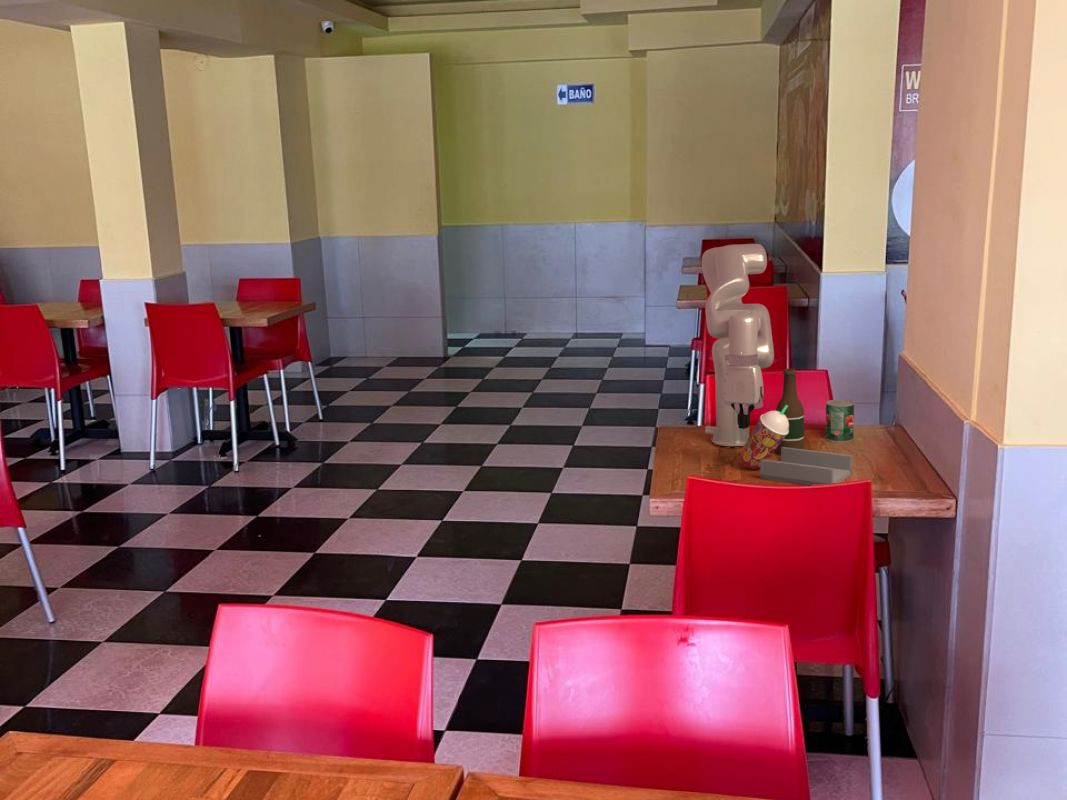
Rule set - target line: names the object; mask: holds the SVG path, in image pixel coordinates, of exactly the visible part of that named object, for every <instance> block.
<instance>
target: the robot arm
mask: <svg viewBox="0 0 1067 800" xmlns="http://www.w3.org/2000/svg"><path fill="white" fill-rule="evenodd" d="M767 265H768V256H767V252H766V249H765V248H764V246H762V244H760V243H745V244H744V243H742V244H728V245H724V246H719V247H713V248H709V249H707V250H705V251H704V253H702V256H701V268H702V269H701V270H702V274H703V278H704V281H705V284H706V286H707V288H708V290H709V292H710V295H709V296H708V298H707V301H706V303H705V319H706V327H707V332H708V335H710V336H711V337H712V338H715V339H717V340H715V341H713V344H712V348H711V354H712V355H711V356H712V360H713V368H714V375H715V376H714V378H715V379H714V381H715V417H716V418H715V419H716V420H715V421H716V422H715V423H716V424H715V426H711V425H705V428H704V430H705V432H704V433H705V434H706V435H708V434H709V435H712V437H711V440H712V442H714V443H716V444H719V445H724V446H744V445H745V444H746V442H747V440H748V438H749V437H750V435H751V434H750V425H751V413H752V412H753V411H754V410H756V409H761V408H764V403H763V400H764V380H763V374H762V369H767V368H769V367H771V366H772V364H773V363H774V360H775V359H774V358H775V353H774V352H775V349H774V342H773V335H772V333H773V332H772V325H771V317H770V313H769V310H768V309H767V307H766V305H763V304H761V303H743V301H742V298H743V297H744V296H745V295H746V294H747V293H748V291H749V289H750V281H749V276H748V275H756V274H758V275H759V274H762V273H764V272H765V271H766V268H767ZM712 442H711V443H712Z"/></svg>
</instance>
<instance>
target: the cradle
mask: <svg viewBox="0 0 1067 800" xmlns="http://www.w3.org/2000/svg"><path fill="white" fill-rule="evenodd" d="M759 469H760V470H759V471H760V473H759V474H760V480H768V481H774V482H780V483H781V482H782V483H789V484H794V485H803V486H808V485H813V484H831V483H839V484H840V483H842V482H843V481H844V480H845V479H847V478H849V476H851V475H852V473H853V455H852V454H844V453H836V452H827V451H819V450H810V449H805V448H804V449H796V448H788V447H782V448H781V455H780V460H779V461H778V460H772V459H768V460H766V459H762V460H760V467H759Z"/></svg>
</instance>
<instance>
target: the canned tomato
mask: <svg viewBox="0 0 1067 800" xmlns="http://www.w3.org/2000/svg"><path fill="white" fill-rule="evenodd" d="M854 418H855V402H854V401H853V400H849V399H848V400H847V399H831V400H827V401H826V402H825V440H827V441H829V442H833V443H849V441H850V442H852V441H854V439H855V438H854V432H855V430H854V428H855V427H854V426H855V425H854V424H855V421H854Z"/></svg>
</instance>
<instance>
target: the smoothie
mask: <svg viewBox="0 0 1067 800" xmlns="http://www.w3.org/2000/svg"><path fill="white" fill-rule="evenodd" d="M787 407H788V406H787V405H786V406H785V407H784V409H783V410H782V412H779V411H776V410H770V411H767V412H765V413H762V414H761V415H760V416H759V419H758V420H757V422H756V424H755V426H754V428H753V430H752V431H751V432H750V434H749V435H750V437H749V438H748V440H747V442H746V444H745V445H744V447H742V449H741V451H740V457H739V460H740V461H741V463H742V464H743V465H744V466H745V467H746V468H748V469H751V470H758V469H760V460H762V459H766V460H769V458H770V457H771V456H772V455H773V453H774V452H776V448H777V447H778V445H779V444H780V443H781V442H782V440H783V439H784V438H785V436H786V435H787V434H788V433H789V422H788V419H787V417H786V416H785V415H784V414H783V413H784V412H785V410H786V409H787Z"/></svg>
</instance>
